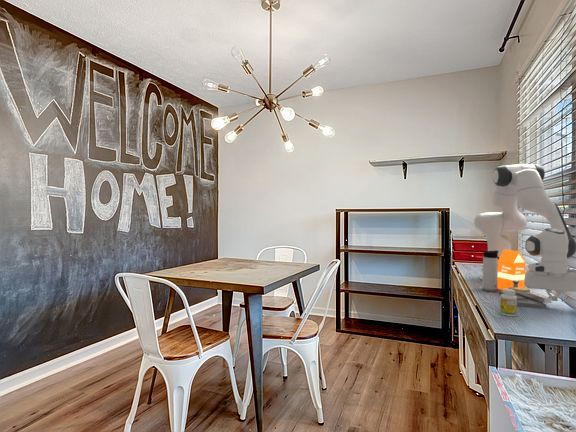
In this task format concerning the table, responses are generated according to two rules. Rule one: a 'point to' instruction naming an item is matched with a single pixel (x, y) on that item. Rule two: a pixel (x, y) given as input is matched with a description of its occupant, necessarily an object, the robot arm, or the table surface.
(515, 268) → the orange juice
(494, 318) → the table surface
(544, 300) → the arm link
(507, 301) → the supplement bottle
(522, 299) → the base plate
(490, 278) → the travel mug
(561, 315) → the table surface
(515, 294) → the keeper clip
